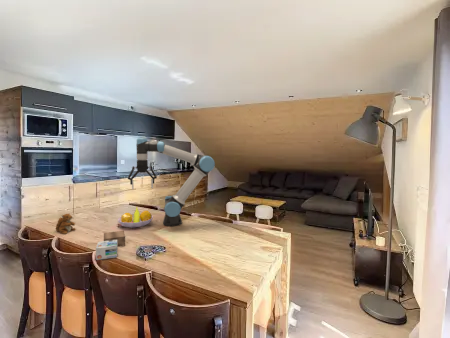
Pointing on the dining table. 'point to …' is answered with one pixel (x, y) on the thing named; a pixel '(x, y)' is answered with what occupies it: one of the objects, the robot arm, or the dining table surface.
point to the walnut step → (115, 237)
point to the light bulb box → (106, 249)
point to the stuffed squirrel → (65, 224)
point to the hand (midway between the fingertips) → (142, 188)
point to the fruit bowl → (135, 219)
